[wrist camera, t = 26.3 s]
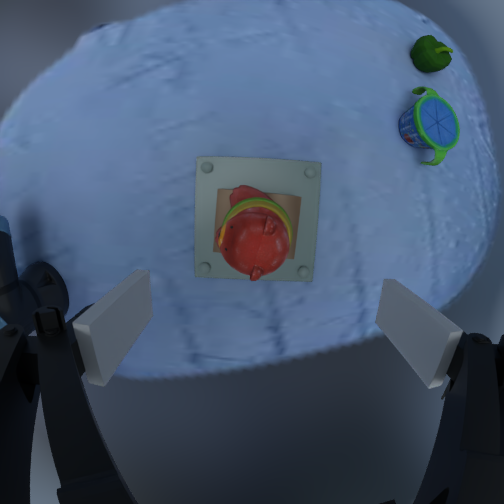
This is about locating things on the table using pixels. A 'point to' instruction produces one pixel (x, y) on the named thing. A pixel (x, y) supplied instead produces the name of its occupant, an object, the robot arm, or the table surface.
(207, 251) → the base plate
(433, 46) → the bell pepper
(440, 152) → the snack cup
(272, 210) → the stacking bear
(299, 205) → the walnut brick
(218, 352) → the table surface
